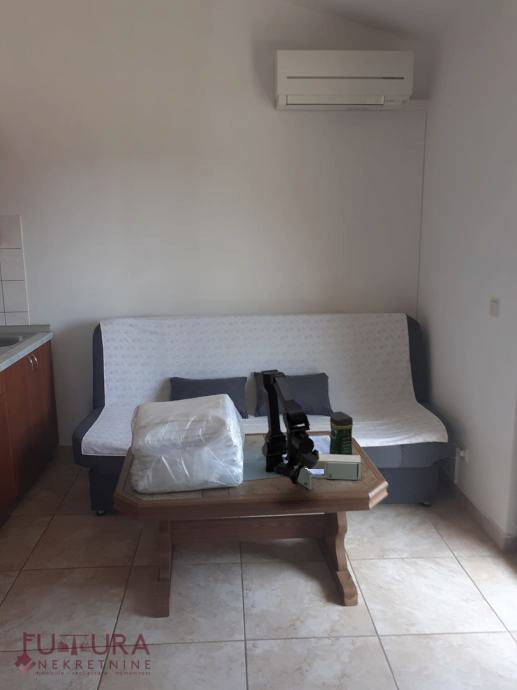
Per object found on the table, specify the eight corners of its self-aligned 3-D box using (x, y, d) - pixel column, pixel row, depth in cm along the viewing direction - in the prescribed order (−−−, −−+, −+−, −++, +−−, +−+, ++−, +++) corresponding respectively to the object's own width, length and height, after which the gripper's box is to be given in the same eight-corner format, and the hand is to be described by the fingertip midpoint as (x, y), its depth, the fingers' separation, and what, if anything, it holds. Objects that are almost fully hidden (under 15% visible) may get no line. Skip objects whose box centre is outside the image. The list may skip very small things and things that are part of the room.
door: (288, 477, 210) (288, 460, 209) (292, 476, 211) (292, 459, 210) (307, 490, 200) (307, 473, 198) (311, 489, 201) (311, 472, 199)
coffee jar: (355, 459, 225) (356, 416, 221) (337, 462, 222) (338, 419, 218) (343, 450, 234) (344, 408, 230) (326, 453, 231) (327, 411, 227)
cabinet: (290, 479, 209) (290, 461, 208) (292, 469, 217) (292, 452, 216) (360, 482, 206) (361, 464, 204) (359, 472, 214) (360, 455, 212)
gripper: (302, 457, 183) (302, 500, 187) (326, 438, 199) (326, 479, 202) (273, 450, 189) (273, 492, 193) (299, 432, 205) (299, 472, 208)
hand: (294, 484), depth 199 cm, fingers closed
